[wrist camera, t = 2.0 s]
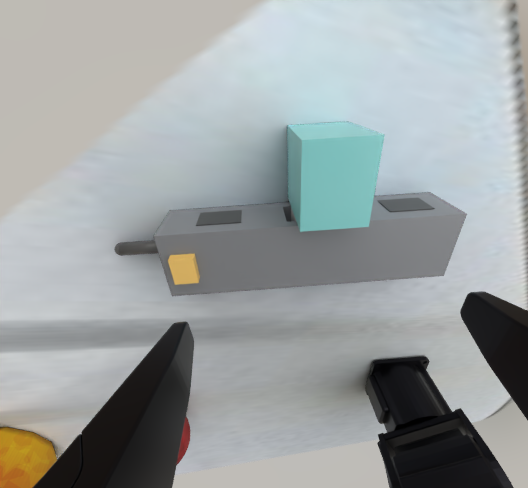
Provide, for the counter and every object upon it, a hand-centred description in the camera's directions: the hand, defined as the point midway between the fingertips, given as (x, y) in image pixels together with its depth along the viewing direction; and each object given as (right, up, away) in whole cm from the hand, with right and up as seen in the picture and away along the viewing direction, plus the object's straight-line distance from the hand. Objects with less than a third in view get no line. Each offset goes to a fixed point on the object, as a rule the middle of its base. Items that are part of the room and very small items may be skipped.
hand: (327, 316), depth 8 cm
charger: (+2, +7, +11) cm, 13 cm away
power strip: (-1, +3, +13) cm, 13 cm away
